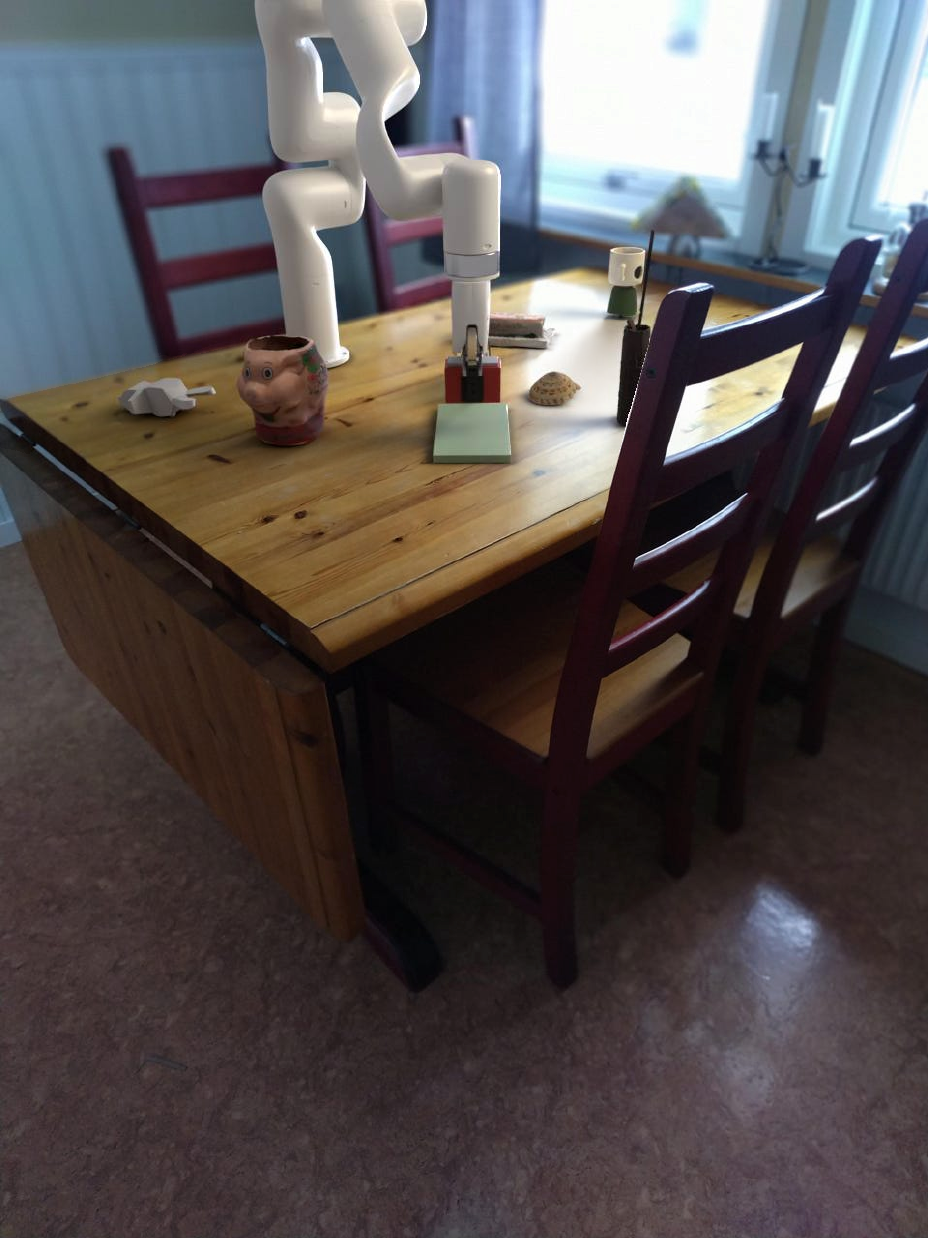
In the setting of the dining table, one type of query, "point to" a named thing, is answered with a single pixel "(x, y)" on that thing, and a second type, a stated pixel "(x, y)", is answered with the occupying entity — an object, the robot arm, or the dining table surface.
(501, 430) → the board
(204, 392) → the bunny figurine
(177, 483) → the dining table surface
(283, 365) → the decorative planter
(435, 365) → the dining table surface
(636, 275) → the character mug
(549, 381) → the seashell
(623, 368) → the butter churn
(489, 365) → the red rectangular block
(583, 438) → the dining table surface
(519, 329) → the packaged product
